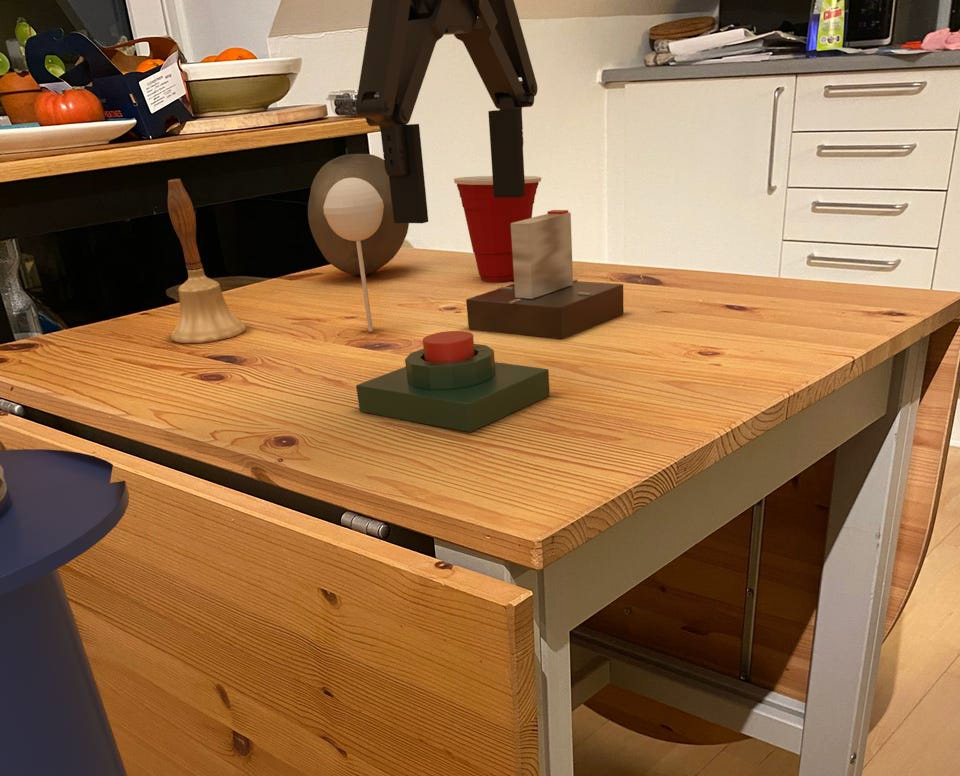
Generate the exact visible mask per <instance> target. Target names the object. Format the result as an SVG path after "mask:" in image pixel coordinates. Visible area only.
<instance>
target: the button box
mask: <svg viewBox="0 0 960 776" xmlns="http://www.w3.org/2000/svg"><path fill="white" fill-rule="evenodd" d="M474 352H475V356H474V357H471V358H469V359H465V360H460V361H454V362H438V363H435V362H428V361H425V358H424V349H423V348H421V349H418V350H416V351H413V352H410V353H409V354H408V355H407V356H406V357H405V358H404V362H405V366H403V367H401V368H398V369H396V370H393V371H390V372H387V373H385V374H381V375H380V376H376V377H374V378H371V379H369V380H366V381H363V382H360V383H358V384H356V385H355V388H356V396H357V401H358V403H357V404H358V407H359V409H358V410H359V412H362V413H367V414H373V415H377V416H383V417H387V418H393V419H399V420H403V421H409V422H414V423H419V424H425V425H430V426H435V427H440V428H446V429H449V430H450V429H452V430H456V431H461V432H466V433H472V432H475V431H477V430H479V429H481V428H483V427H485V426H487V425H489V424H492V423H494V422H496V421H498V420H500V419H503V418H504V417H505V418H506V417H507V416H509V415H511V414H513V413H516V412H517V411H520V410H522V409H524V408H526V407H528V406H531V405H533V404H535V403H537V402H540V401H541V400H543V399H546V398H549V397H550V396H551V395H550V394H551V392H550V375H549V374H550V373H549V369H548V368H543V367H535V366H527V365H521V364H513V363H505V362H497V361H496V360H495V350H494V349H493V348H491V347H490V346H488V345H486V344H480V343H474Z"/></svg>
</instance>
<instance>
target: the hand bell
mask: <svg viewBox="0 0 960 776" xmlns="http://www.w3.org/2000/svg"><path fill="white" fill-rule="evenodd" d="M167 184H168V186H167V187H168V188H167V189H168V191H167V210H168V214H169V219H170V221H171V225H172V227H173V230H174V231H175V233H176V235H177V237H178V239H179V241H180V244H181V247H182V248H181V249H182V253H183V256H184V257H183V258H184V261H185V268H186V270H187V275H188V278H187V280H185V281H184V283H182V284H181V285H180V286H179V287H178V296H179V297H178V298H179V315H178V316H179V317H178V321H177V324H176V326H175V328H174V329H173V331H172V333H171V336H170V338H171V341H173V342H175V343H180V344H203V343H211V342H217V341H222V340H226V339H230V338H233V337H236V336H239V335H240V334H243V333H244V332H245V331H246V329H247V328H246V325H245V324H244V322H242V321H241V320H240V319H238V318H237V317H236V316H235V315H234V313H233V312H232V311H231V310H230V308H229V306H228V303H227V302H226V300H225V297H224V295H223V291H222V289H221V285H220V283H219V282H218V281H216V280H214V279H212V278H210V277H208V276H206V275H205V271H204V268H203V263H202V262H201V257H200V256H201V255H200V253H199V249H198V245H197V221H196V220H197V219H196V214H195V213H196V212H195V209H194V205H193V203H192V200H191V197H190V196H189V194H188V192H187V191H186V189H185V187H184V185H183V182H182V180H181V178H174V179H169V180H167Z"/></svg>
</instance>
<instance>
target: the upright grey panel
mask: <svg viewBox="0 0 960 776" xmlns="http://www.w3.org/2000/svg"><path fill="white" fill-rule="evenodd" d="M511 238H512V254H513V270H514V280H513V284H514V286H515V297H516V298H527V299H533V298H536V297H539V296H542V295H545V294H548V293H551V292H554V291H557V290H559V289H562V288H565V287H568V286H571V285H573V280H574V269H573V267H574V266H573V241H572V240H573V239H572V238H573V237H572V213H571V212H570V211H569V210H568V209H551V210H548V211H547V213H545V214H542V215H537V216H532V218H529V219H525V220H522V221H518V222H514V223H511Z"/></svg>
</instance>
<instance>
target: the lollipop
mask: <svg viewBox="0 0 960 776" xmlns="http://www.w3.org/2000/svg"><path fill="white" fill-rule="evenodd" d="M383 209H384V205H383V200H382V199H381V197H380V195H379V194H378V192H377V191H376V189H375V188H374V187H373V186H372V185H371V184H369V183H368V182H367V181H364V180H362V179H359V178H345V179H343V180H340V181H338V182H337V183H336V184H334V185H333V187H332V188H331V189H330V190H329V192H328V194H327V197H326V200H325V203H324V215H325V217H326V219H327V221H328V224H329V225H330V227H331V228H332V230H333V231H334V232H335V233H336V234H337V235H339V236H340V237H342V238H344V239H346V240H351V241H356V244H357V252H358V259H359V266H360V273H361V275H360V280H361V286H362V294H363V300H364V307H365V315H366V322H367V329H368V330H367V331H368V332H369V333H370V332H373V331H374V329H373V328H374V327H373V322H372V315H371V313H372V312H371V307H370V300H369V292H368V286H367V285H368V284H367V278H366V275H365V270H364V263H363V255H362V248H361V240H364V239H366V238H369V237H370V236H371V235H373V234H374V233H375V232H376V231H377V229H378V228H379V226H380V224H381V221H382V216H383Z"/></svg>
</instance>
